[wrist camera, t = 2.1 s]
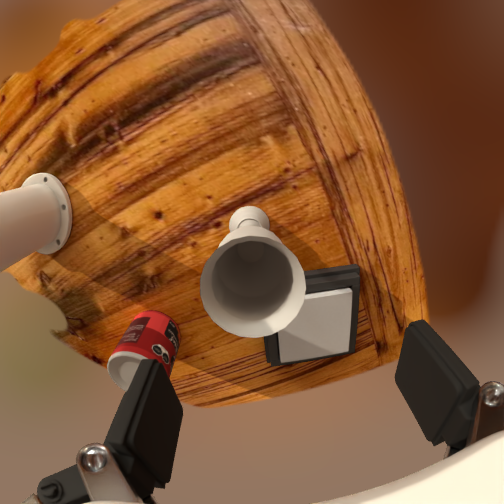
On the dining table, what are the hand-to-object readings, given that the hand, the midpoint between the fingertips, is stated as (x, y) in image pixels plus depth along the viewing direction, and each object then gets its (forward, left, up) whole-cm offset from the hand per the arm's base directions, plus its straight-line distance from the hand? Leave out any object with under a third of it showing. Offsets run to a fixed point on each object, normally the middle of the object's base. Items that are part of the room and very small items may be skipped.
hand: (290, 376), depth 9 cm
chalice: (-1, 0, -27) cm, 27 cm away
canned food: (-17, -14, -27) cm, 35 cm away
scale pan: (+6, -14, -24) cm, 29 cm away
